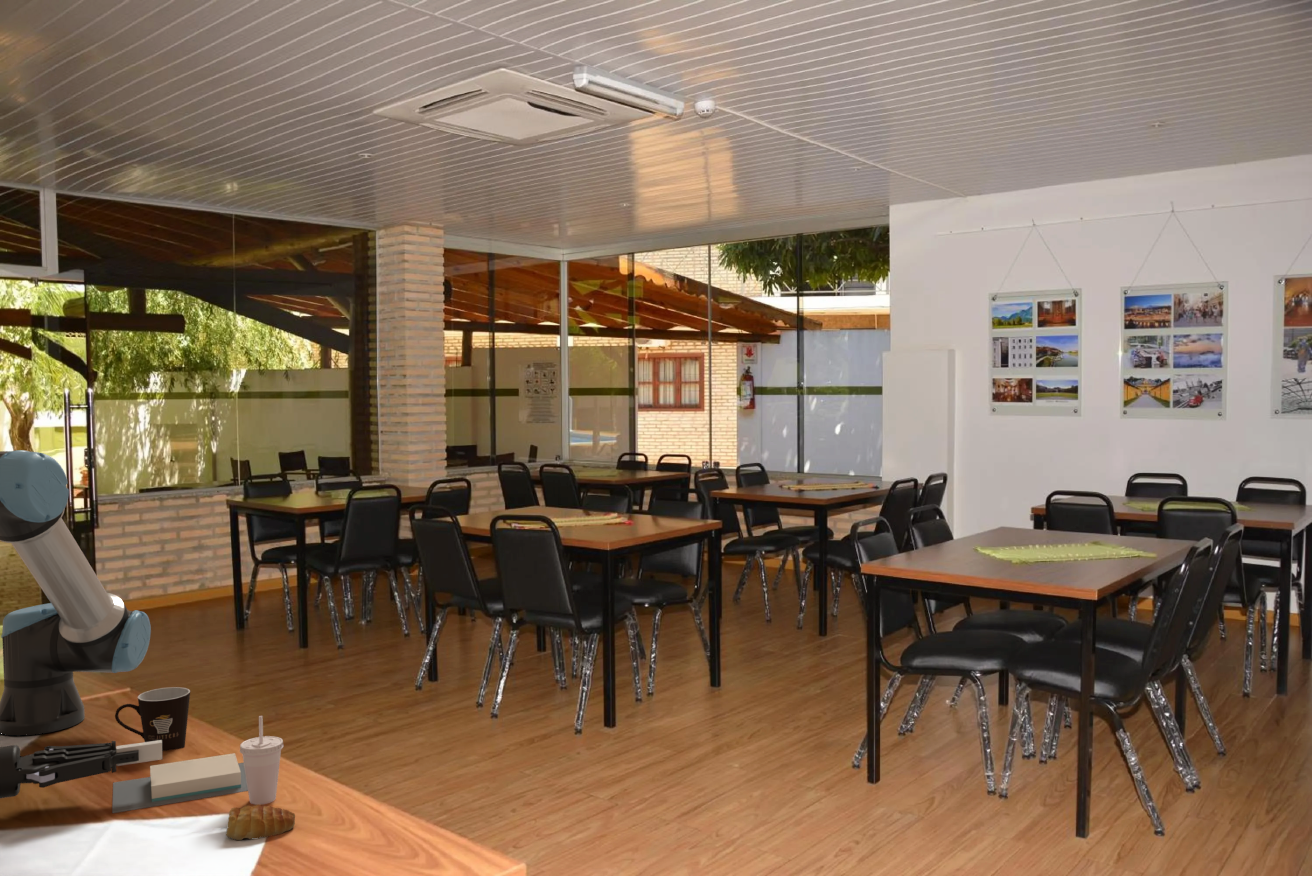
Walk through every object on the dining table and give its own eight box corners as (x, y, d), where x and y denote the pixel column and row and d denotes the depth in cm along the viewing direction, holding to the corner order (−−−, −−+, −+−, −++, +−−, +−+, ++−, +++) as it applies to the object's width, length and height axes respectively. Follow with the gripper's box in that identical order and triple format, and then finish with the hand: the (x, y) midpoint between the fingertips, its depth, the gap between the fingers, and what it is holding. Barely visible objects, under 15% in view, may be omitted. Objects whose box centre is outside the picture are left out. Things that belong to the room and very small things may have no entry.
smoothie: (238, 813, 159) (236, 723, 158) (243, 797, 165) (241, 711, 165) (282, 809, 161) (281, 719, 160) (286, 793, 167) (284, 707, 166)
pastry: (296, 819, 158) (295, 794, 157) (293, 837, 151) (293, 812, 151) (229, 826, 155) (229, 801, 155) (224, 845, 148) (223, 819, 148)
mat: (113, 786, 170) (113, 782, 170) (243, 765, 179) (243, 762, 179) (112, 817, 158) (112, 813, 158) (252, 793, 167) (252, 789, 167)
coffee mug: (200, 741, 192) (199, 687, 192) (174, 757, 184) (173, 701, 183) (141, 739, 194) (140, 686, 193) (112, 755, 185) (111, 700, 185)
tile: (150, 765, 171) (234, 753, 177) (150, 780, 171) (235, 767, 177) (151, 786, 162) (240, 772, 168) (151, 802, 162) (241, 787, 168)
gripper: (-6, 784, 162) (161, 759, 173) (-17, 814, 151) (163, 786, 161) (-8, 737, 162) (160, 715, 173) (-18, 763, 150) (162, 738, 161)
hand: (161, 749), depth 167 cm, fingers closed
